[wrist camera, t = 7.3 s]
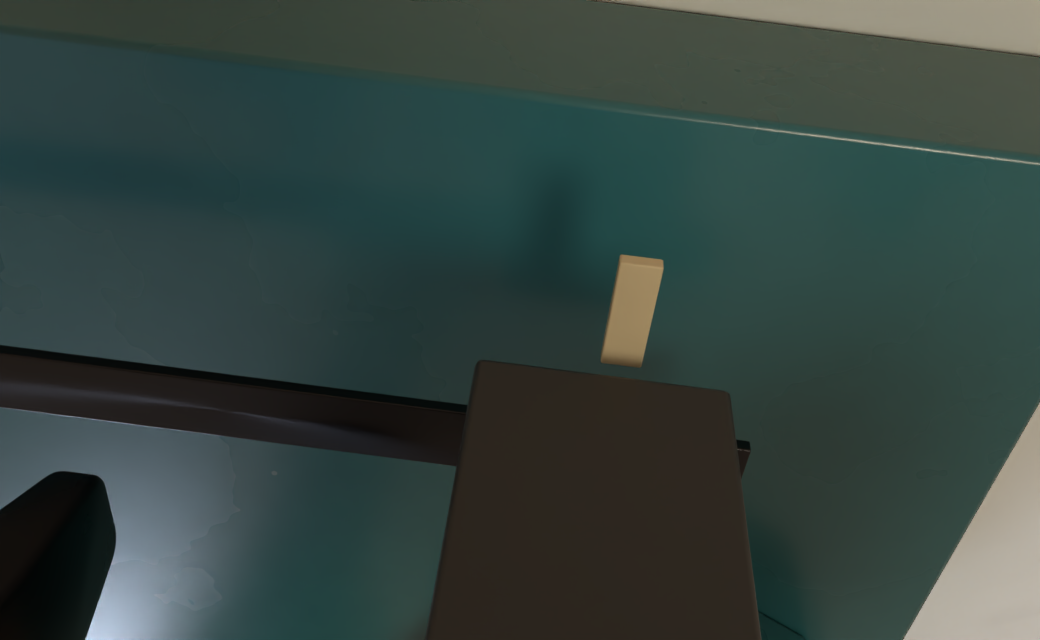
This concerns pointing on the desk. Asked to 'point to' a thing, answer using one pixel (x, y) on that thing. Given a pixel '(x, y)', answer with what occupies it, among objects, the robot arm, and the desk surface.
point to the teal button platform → (514, 277)
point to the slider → (594, 513)
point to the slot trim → (292, 392)
